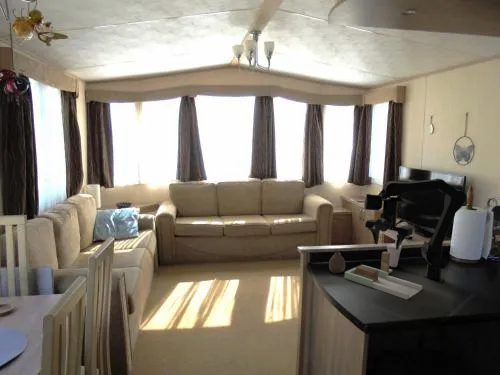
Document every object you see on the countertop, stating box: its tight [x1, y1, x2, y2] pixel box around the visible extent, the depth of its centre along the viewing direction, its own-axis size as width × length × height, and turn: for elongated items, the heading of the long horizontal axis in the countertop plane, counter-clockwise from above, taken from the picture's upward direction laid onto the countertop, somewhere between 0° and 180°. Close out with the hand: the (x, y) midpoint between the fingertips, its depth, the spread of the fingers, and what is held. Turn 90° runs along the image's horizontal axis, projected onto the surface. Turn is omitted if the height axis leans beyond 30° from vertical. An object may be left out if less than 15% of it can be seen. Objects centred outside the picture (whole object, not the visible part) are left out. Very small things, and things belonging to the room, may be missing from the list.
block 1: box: [355, 264, 370, 277], centre depth 153 cm, size 4×4×4 cm
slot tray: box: [344, 264, 423, 300], centre depth 147 cm, size 14×26×4 cm, turn 43°
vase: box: [328, 252, 346, 275], centre depth 160 cm, size 7×7×9 cm
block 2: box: [364, 267, 380, 282], centre depth 150 cm, size 4×4×4 cm
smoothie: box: [386, 236, 402, 268], centre depth 170 cm, size 6×6×14 cm
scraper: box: [380, 251, 393, 275], centre depth 158 cm, size 7×4×10 cm, turn 134°
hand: (386, 246), depth 157 cm, fingers open, 9 cm apart
